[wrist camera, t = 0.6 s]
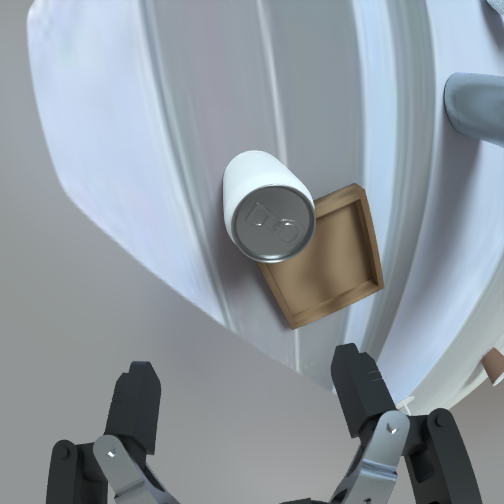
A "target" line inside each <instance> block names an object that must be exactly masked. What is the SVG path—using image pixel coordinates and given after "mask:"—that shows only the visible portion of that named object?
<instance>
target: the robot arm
mask: <svg viewBox="0 0 504 504" xmlns="http://www.w3.org/2000/svg"><path fill="white" fill-rule="evenodd" d="M444 96H445V106H446V111H447V114H448V117H449V119H450V121H451V123H452V125H453V126H454V128H455V129H456V130H457V131H459V132H460V133H462V134H465V135H468V136H471V137H475V138H478V139H481V140H484V141H487V142H490V143H492V144H495V145H498V146H501V147H504V77H501V76H493V75H484V74H473V73H455V74H453V75H451V77H450V78H449V79H448V81H447V83H446V87H445V95H444ZM331 376H332V380H333V382H334V385H335V388H336V391H337V395H338V398H339V400H340V404H341V407H342V409H343V413H344V416H345V419H346V422H347V425H348V429H349V432H350V435H351V438H355V437H359V438H360V440H361V443H360V445H359V447H358V450H357V452H356V454H355V456H354V458H353V461H352V462H351V465H350V467H349V469H348V471H347V473H346V475H345V476H344V478H343V480H342V481H341V482H340V484H339V485H338V487H337V488H336V490H335V492H334V494H333V495H332V497H331V499H330V500H329V502H328V503H327V502H322V501H315V500H311V498H307V499H302V500H296V501H289V502H283V503H281V504H365V503H366V504H387V502H388V500H389V497H390V495H391V493H392V490H393V488H394V485H395V483H396V480H397V473H396V468H397V465H398V463H399V460H400V457H401V456H404V458H405V462H406V465H407V469H408V472H409V476H410V480H411V484H412V488H413V492H414V496H415V500H416V504H482V500H481V496H480V492H479V488H478V485H477V481H476V478H475V475H474V472H473V468H472V466H471V462H470V459H469V456H468V454H467V451H466V448H465V446H464V443H463V440H462V438H461V435H460V432H459V430H458V427H457V425H456V422H455V420H454V418H453V416H452V414H451V413H450V412H449V411H448V410H447V409H444V408H437V409H435V410H433V411H432V412H431V413H430V414H429V415H419V416H408V415H405V414H404V413H402V412H400V411H399V410H398V409H397V408H396V406H395V405H394V402H393V400H392V398H391V395H390V393H389V391H388V389H387V387H386V384H385V382H384V380H383V379H382V376H381V374H380V371H379V369H378V367H377V365H376V363H375V361H374V359H373V358H371V357H370V356H369V355H368V354H367V353H366V352H364V353H359V351H358V349H357V347H356V345H355V344H354V343H349V344H344V345H339V346H337V347H336V349H335V353H334V357H333V361H332V364H331ZM160 396H161V384H160V381H159V378H158V377H157V375H156V373H155V371H154V369H153V367H152V365H151V363H150V362H142V361H141V362H140V361H133V362H132V363H131V365H130V369H129V373H122V375H121V376H120V377H119V379H118V380H117V382H116V385H115V389H114V394H113V398H112V402H111V406H110V410H109V414H108V419H107V424H106V429H105V432H104V434H103V436H101V437H99V438H98V439H97V440H96V441H95V442H93V443H87V444H79V445H74V444H73V443H72V442H70V441H68V440H60V441H58V442H57V443H56V444H55V446H54V447H53V450H52V456H51V462H50V469H49V477H48V485H47V496H46V504H107V493H108V482H109V483H110V485H111V487H112V488H113V490H114V492H115V497H114V499H115V502H116V504H180V503H179V502H178V501H177V500H176V499H175V498H174V497H173V496H172V495H171V494H170V493H169V492H168V491H167V490H166V489H165V487H164V486H163V485H162V483H161V482H160V481H159V479H158V478H157V477H156V475H155V474H154V473H153V471H152V470H151V468H150V467H149V465H148V464H147V463H146V454H149V455H154V452H155V440H156V430H157V421H158V413H159V405H160Z"/></svg>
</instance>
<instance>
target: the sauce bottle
mask: <svg viewBox="0 0 504 504" xmlns="http://www.w3.org/2000/svg"><path fill="white" fill-rule="evenodd" d="M487 2H488V3H489V4H490V6H491V7H492V8H493V9H495V10H496V11H497V12H498V13H500V14H502V15H504V0H487Z"/></svg>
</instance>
